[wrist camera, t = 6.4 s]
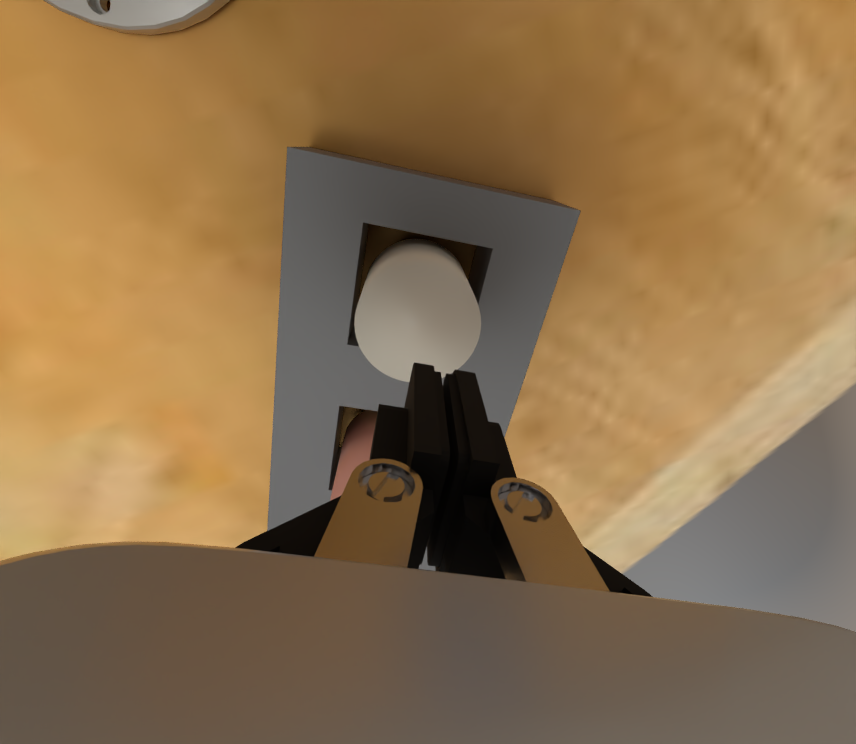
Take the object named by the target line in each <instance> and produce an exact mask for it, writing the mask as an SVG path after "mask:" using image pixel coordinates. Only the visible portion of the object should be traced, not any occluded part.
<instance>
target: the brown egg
mask: <svg viewBox="0 0 856 744" xmlns="http://www.w3.org/2000/svg"><path fill="white" fill-rule="evenodd" d="M377 412H378V411H372V410H366V411H364V412H362V413H361V414H359V415H358V416H356V417H355V418H354V419H353V420H352V421H351V423H350V424H349V426H348V427H347V430H346V432H345V436H344V441H343V445H342V449H341V454H340V458H339V463H338V467H337V471H336V476H335V480H334V485H333V489H332V493H331V499H330V501H331V500H333V499H335V498H337V497H339V496H341V495H342V493H343V491H344V489H345V487H346V484H347V482H348V480H349V478H350V475H351V473H352V472H353V470H354V469H355V468H356V467H357V466H358V465H360V464H361V463H363V462H365V461H368V460H369V459H370V453H371V447H372V441H373V435H374V429H375V423H376V418H377Z"/></svg>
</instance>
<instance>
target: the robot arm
mask: <svg viewBox="0 0 856 744" xmlns="http://www.w3.org/2000/svg"><path fill="white" fill-rule="evenodd" d="M44 1H45V2H47V3H49V4H50V5H52V6H54V7H55V8H57V9H59V10H60V11H62V12H65V13H67V14H69V15H72V16H74V17H76V18H79V19H81V20H84V21H86V22H88V23H91V24H94V25H98V26H101V27H104V28H108V29H111V30H115V31H118V32H122V33H133V34H146V35H156V34H162V33H168V32H174V31H180V30H183V29H185V28H187V27H190V26H192V25H194V24H196V23H199V22H201V21H203V20H206V19H207V18H209V17H210V16H211V15H212V14H214V13H215V12H216V11H217V10H219V9H220V8H221V7H223V6H224V5H225V4H226V3H228V2H229V1H230V0H110V3H111V4H110V10H109V11H108V9H107V1H108V0H44ZM426 547H427V562H428V565H429V566H435V571H432V570H423V569H418V568H419V565H421V564H422V562H423V558H424V555H425V551H426ZM0 744H856V632H854V631H851V630H848V629H845V628H842V627H839V626H834V625H830V624H826V623H822V622H817V621H813V620H809V619H805V618H799V617H794V616H787V615H781V614H775V613H769V612H762V611H756V610H750V609H743V608H735V607H727V606H719V605H712V604H704V603H696V602H688V601H680V600H671V599H664V598H655V597H652V596H651V595H650V594H649V593H647V592H646V591H645V590H644V589H642V588H641V587H639V586H638V585H636V584H635V583H634V582H632V581H631V580H629V579H628V578H627V577H625V576H624V575H623V574H621V573H620V572H618V571H617V570H616V569H614V568H613V567H611V566H610V565H609V564H607V563H606V562H604V561H603V560H602V559H600V558H599V557H597V556H596V555H595V554H593V553H592V552H590V551H589V550H588V549H586V548H585V547H584V546H583V545H582V544H581V542H580V540H579V539H578V537H577V535H576V534H575V532H574V530H573V529H572V527H571V525H570V524H569V522H568V520H567V518H566V517H565V515H564V513H563V512H562V510H561V508H560V507H559V505H558V503H557V502H556V500H555V499H554V498H553V497H552V495H551V494H550V493H548V492H547V491H546V490H545V489H544V488H542V487H540V486H539V485H537V484H535V483H533V482H530V481H528V480H525V479H520V478H517V477H516V474H515V471H514V467H513V464H512V461H511V458H510V455H509V452H508V448H507V445H506V442H505V439H504V436H503V433H502V429H501V426H500V424H499V423H496V422H489V421H488V418H487V414H486V410H485V407H484V403H483V399H482V396H481V392H480V389H479V385H478V381H477V378H476V374H475V373H473V372H467V371H462V370H456V369H455V370H454V372H453V374H448V373H446V375H445V378H444V382H443V386H442V377H441V372H436V371H435V370H434V366H433V365H427V364H421V363H415V362H414V364H413V367H412V372H411V377H410V382H409V387H408V391H407V396H406V401H405V406H404V408H402V407H396V406H389V405H383V404H379V406H378V412H377V418H376V423H375V429H374V435H373V441H372V447H371V453H370V459H369V460H368V461H365V462H363V463H361V464H360V465H358V466H357V467H356V468H355V469H354V470H353V472H352V473H351V475H350V478H349V480H348V482H347V484H346V487H345V489H344V491H343V493H342V495H341V496H339V497H337V498H335V499H333V500H331V501H329V502H327V503H325V504H323V505H320V506H318V507H316V508H314V509H312V510H310V511H308V512H306V513H304V514H302V515H300V516H298V517H296V518H293V519H291V520H289V521H287V522H285V523H283V524H281V525H279V526H277V527H275V528H273V529H271V530H269V531H266V532H264V533H262V534H260V535H258V536H256V537H254V538H252V539H250V540H248V541H246V542H244V543H242V544H240V545H239V546H237V547H236V548H230V547H218V546H206V545H194V544H181V543H169V542H112V543H97V544H83V545H76V546H70V547H64V548H58V549H51V550H45V551H39V552H33V553H29V554H25V555H21V556H17V557H13V558H9V559H5V560H2V561H0Z"/></svg>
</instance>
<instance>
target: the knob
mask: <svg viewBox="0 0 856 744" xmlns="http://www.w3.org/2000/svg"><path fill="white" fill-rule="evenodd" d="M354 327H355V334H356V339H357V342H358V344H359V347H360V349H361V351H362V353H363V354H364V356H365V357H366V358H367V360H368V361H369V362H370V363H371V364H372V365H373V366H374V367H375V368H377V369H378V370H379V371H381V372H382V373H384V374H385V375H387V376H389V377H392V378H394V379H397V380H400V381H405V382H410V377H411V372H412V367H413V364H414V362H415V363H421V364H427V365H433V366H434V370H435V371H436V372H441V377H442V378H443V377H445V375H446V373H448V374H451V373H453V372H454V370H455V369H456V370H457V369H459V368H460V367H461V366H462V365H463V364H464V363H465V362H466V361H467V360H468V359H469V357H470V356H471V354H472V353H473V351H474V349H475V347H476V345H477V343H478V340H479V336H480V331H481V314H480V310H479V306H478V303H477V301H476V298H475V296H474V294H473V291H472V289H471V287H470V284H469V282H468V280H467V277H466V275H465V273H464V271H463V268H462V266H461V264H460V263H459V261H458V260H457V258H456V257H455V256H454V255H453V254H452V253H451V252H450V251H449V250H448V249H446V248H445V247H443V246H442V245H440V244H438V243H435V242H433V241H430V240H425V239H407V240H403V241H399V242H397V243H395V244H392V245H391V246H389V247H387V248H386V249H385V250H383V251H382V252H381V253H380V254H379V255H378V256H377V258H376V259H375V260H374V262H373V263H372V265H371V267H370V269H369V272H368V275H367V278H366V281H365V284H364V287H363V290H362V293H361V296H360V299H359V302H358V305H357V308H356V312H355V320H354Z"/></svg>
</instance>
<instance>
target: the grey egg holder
mask: <svg viewBox="0 0 856 744" xmlns="http://www.w3.org/2000/svg"><path fill="white" fill-rule="evenodd" d="M579 214H580V210H577V209H575V208H572V207H569V206H567V205H564V204H561V203H558V202H556V201H553V200H548V199H544V198H539V197H535V196H530V195H526V194H521V193H516V192H512V191H507V190H503V189H498V188H494V187H489V186H484V185H480V184H475V183H471V182H466V181H462V180H457V179H453V178H448V177H443V176H439V175H434V174H430V173H425V172H421V171H416V170H411V169H407V168H402V167H398V166H393V165H389V164H384V163H379V162H375V161H370V160H366V159H361V158H357V157H352V156H347V155H343V154H338V153H334V152H329V151H325V150H320V149H316V148H311V147H287V163H286V182H285V202H284V221H283V240H282V260H281V279H280V298H279V318H278V337H277V356H276V376H275V395H274V414H273V434H272V453H271V472H270V492H269V511H268V530H267V531H269V530H271V529H273V528H275V527H277V526H279V525H281V524H283V523H285V522H287V521H289V520H291V519H293V518H296V517H298V516H300V515H302V514H304V513H306V512H308V511H310V510H312V509H314V508H316V507H318V506H320V505H323V504H325V503H327V502H329V501H330V499H331V493H332V489H333V485H334V480H335V476H336V471H337V467H338V463H339V458H340V454H341V449H342V447H339V441H340V434H341V427H342V419H343V412H344V406H345V407H352V408H358V409H365V410H372V411H378V406H379V404H383V405H389V406H396V407H402V408H404V406H405V401H406V396H407V391H408V387H409V382H405V381H400V380H397V379H394V378H392V377H389V376H387V375H385V374H384V373H382V372H381V371H379V370H378V369H377V368H375V367H374V366H373V365H372V364H371V363H370V362H369V361H368V360H367V358H366V357H365V356H364V354H363V353H362V351H361V349H360V347H359V344H358V342H357V339H356V334H355V327H354V320H355V312H356V308H357V305H358V301H359V293H360V286H361V278H362V271H363V264H364V256H365V249H366V241H367V234H368V227H369V224H373V225H378V226H383V227H388V228H393V229H398V230H403V231H408V232H413V233H418V234H423V235H428V236H433V237H438V238H443V239H448V240H453V241H457V242H462V243H467V244H472V245H477V246H476V251H475V255H474V259H473V263H472V267H471V271H470V275H469V279H468V282H469V284H470V287H471V289H472V291H473V294H474V296H475V298H476V301H477V303H478V306H479V310H480V314H481V331H480V336H479V340H478V343H477V345H476V347H475V349H474V351H473V353H472V354H471V356H470V357H469V359H468V360H467V361H466V362H465V363H464V364H463V365H462V366H461V367H460V368H459V369H457V370H462V371H467V372H473V373H475V374H476V378H477V381H478V385H479V389H480V392H481V396H482V399H483V403H484V407H485V410H486V414H487V418H488V421H489V422H496V423H499V424H500V426H501V429H502V433H503V436H504V437H505V434H506V431H507V428H508V425H509V422H510V419H511V416H512V413H513V410H514V407H515V404H516V401H517V398H518V395H519V393H520V390H521V387H522V384H523V381H524V378H525V375H526V372H527V369H528V366H529V363H530V360H531V357H532V354H533V351H534V348H535V345H536V342H537V339H538V336H539V333H540V330H541V327H542V324H543V321H544V318H545V315H546V312H547V309H548V306H549V303H550V300H551V298H552V295H553V292H554V289H555V286H556V283H557V280H558V277H559V274H560V271H561V268H562V265H563V262H564V259H565V256H566V253H567V250H568V247H569V244H570V241H571V238H572V235H573V232H574V229H575V226H576V223H577V220H578V217H579ZM451 374H453V373H451ZM444 378H445V377H443V378H442V386H443V382H444ZM418 569H423V570H432V571H435V566H429V565H428V562H427V547H426V551H425V555H424V558H423V562H422V564H421V565H419V568H418Z"/></svg>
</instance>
